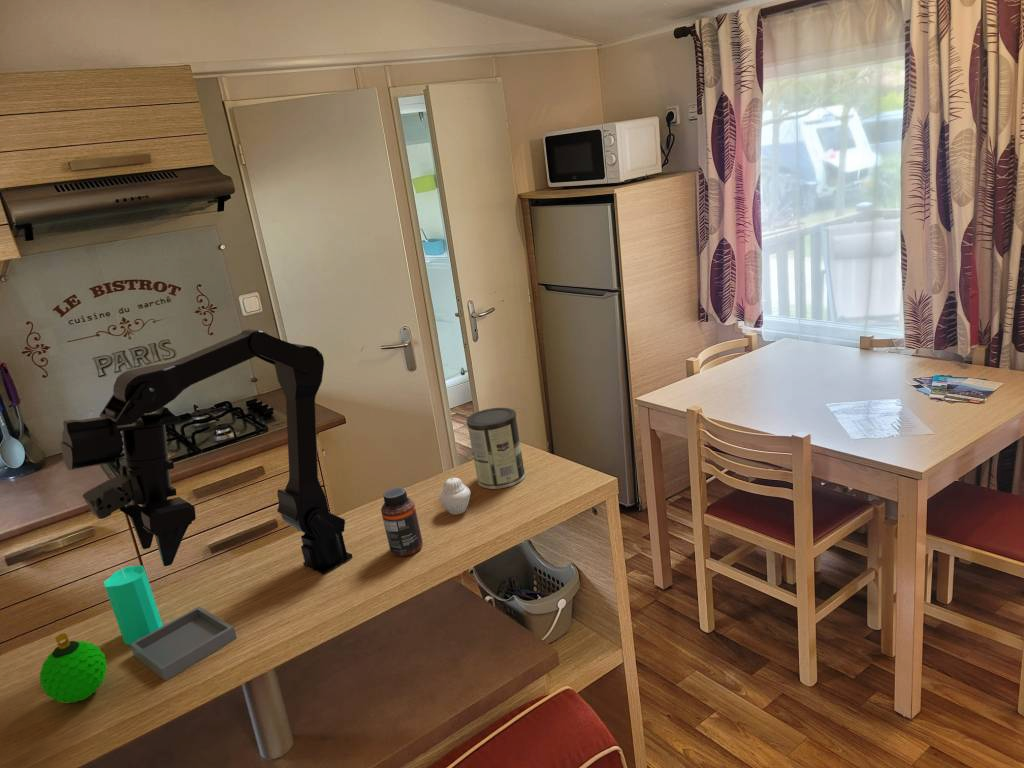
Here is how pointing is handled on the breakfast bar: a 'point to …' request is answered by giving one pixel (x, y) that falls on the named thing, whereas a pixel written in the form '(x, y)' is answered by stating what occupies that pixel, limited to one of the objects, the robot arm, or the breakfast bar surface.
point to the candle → (133, 603)
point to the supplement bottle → (401, 523)
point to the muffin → (455, 496)
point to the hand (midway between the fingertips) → (156, 556)
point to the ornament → (72, 670)
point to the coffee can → (496, 448)
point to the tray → (182, 642)
